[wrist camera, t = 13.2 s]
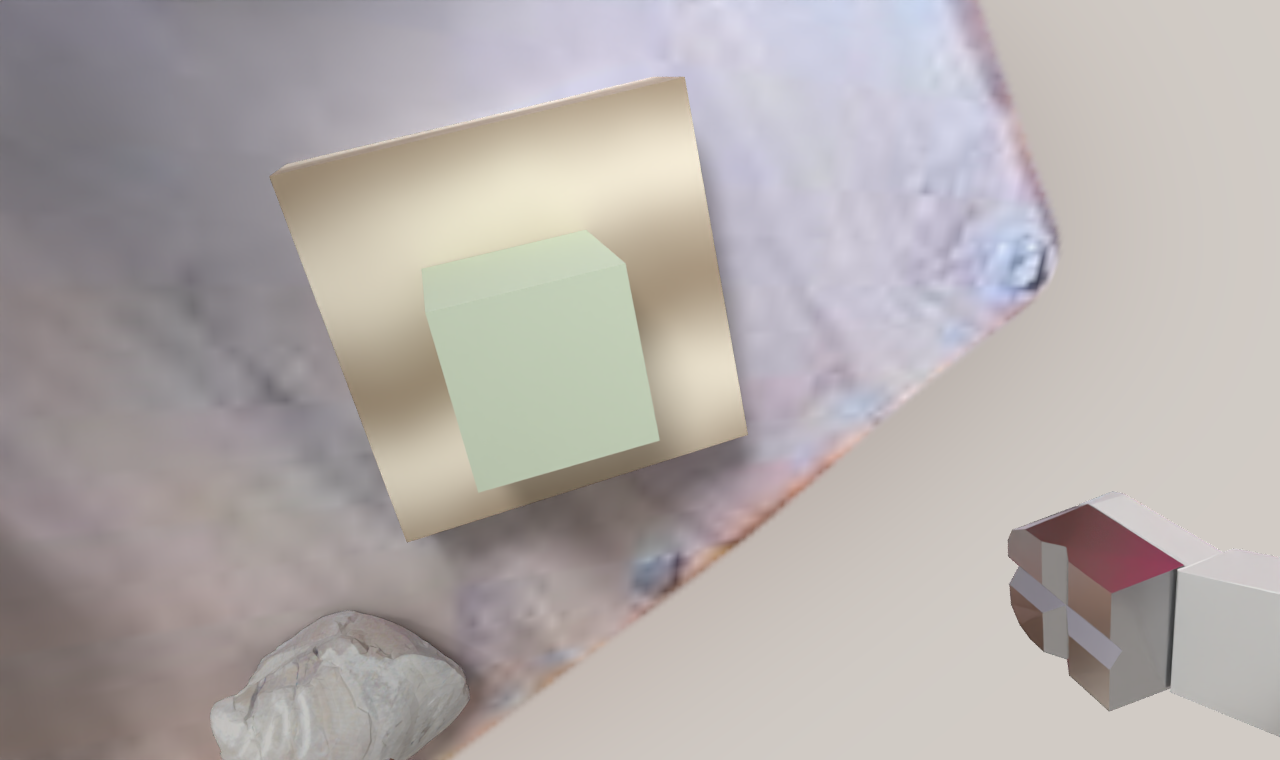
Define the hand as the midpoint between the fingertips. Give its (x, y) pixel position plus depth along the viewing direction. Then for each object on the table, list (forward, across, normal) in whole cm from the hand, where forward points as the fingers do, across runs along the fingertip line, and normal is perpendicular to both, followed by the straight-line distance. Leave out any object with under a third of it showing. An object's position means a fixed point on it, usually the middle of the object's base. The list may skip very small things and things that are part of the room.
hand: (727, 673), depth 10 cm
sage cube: (+17, 0, 0) cm, 17 cm away
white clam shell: (+21, +11, +13) cm, 27 cm away
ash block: (+21, 0, 0) cm, 21 cm away
